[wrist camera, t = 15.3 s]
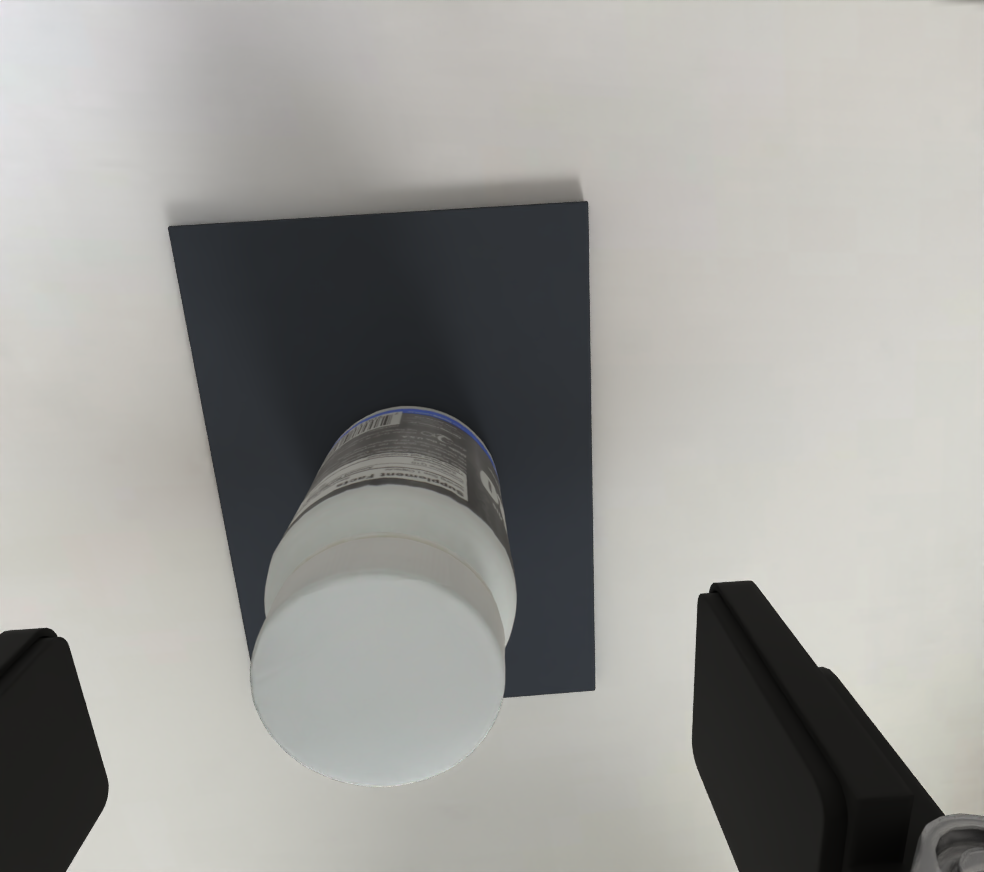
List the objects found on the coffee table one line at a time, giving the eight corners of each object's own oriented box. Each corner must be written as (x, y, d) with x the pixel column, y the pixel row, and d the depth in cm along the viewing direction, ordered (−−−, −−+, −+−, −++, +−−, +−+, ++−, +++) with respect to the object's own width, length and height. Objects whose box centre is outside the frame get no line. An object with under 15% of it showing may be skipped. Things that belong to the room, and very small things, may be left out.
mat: (173, 226, 17) (167, 226, 17) (585, 201, 17) (588, 201, 17) (264, 708, 21) (260, 718, 21) (592, 682, 22) (595, 691, 21)
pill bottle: (489, 571, 20) (512, 817, 12) (319, 559, 19) (222, 804, 11) (508, 409, 18) (549, 562, 10) (325, 392, 18) (220, 539, 10)
